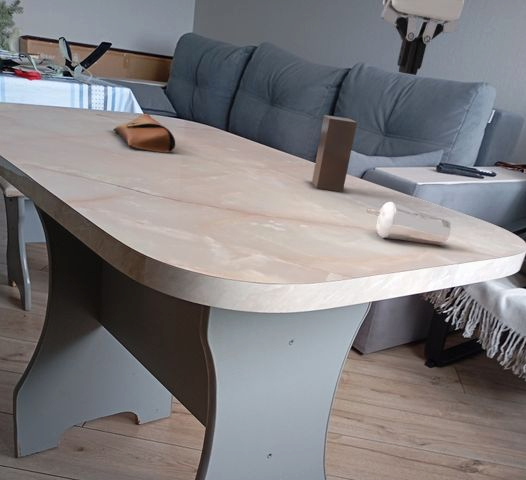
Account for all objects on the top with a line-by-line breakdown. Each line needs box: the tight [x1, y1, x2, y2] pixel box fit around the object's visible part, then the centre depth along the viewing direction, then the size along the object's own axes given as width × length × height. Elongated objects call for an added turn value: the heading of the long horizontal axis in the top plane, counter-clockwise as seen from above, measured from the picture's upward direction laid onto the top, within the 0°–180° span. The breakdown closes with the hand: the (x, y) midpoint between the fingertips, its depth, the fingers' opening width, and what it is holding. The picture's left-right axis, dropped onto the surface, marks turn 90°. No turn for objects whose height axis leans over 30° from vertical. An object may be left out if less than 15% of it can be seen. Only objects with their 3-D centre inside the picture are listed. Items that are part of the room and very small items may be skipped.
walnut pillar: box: [311, 114, 358, 193], centre depth 101 cm, size 4×4×11 cm
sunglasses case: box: [112, 113, 176, 154], centre depth 115 cm, size 18×7×7 cm
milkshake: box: [366, 201, 452, 246], centre depth 79 cm, size 5×5×10 cm
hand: (407, 73), depth 87 cm, fingers closed
